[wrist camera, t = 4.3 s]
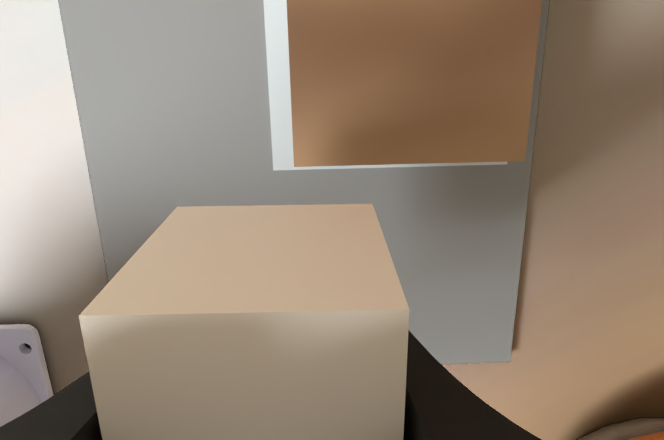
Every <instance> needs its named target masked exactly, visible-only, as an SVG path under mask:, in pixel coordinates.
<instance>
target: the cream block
mask: <svg viewBox="0 0 664 440" xmlns="http://www.w3.org/2000/svg"><path fill="white" fill-rule="evenodd" d="M79 321H80V326H81V331H82V337H83V342H84V347H85V352H86V357H87V363H88V368H89V373H90V378H91V383H92V388H93V394H94V399H95V404H96V409H97V414H98V420H99V425H100V430H101V435H102V440H403V436H404V415H405V394H406V373H407V351H408V330H409V307H408V304H407V301H406V298H405V295H404V292H403V289H402V287H401V284H400V281H399V278H398V275H397V272H396V269H395V267H394V264H393V261H392V258H391V255H390V252H389V249H388V247H387V244H386V241H385V238H384V235H383V232H382V229H381V226H380V224H379V221H378V218H377V215H376V212H375V209H374V206H373V204H316V205H249V206H182V207H176V208H175V210H174V211H173V212H172V213H171V214H170V215H169V216H168V217H167V218H166V220H165V221H164V222H163V223H162V224H161V225H160V226H159V227H158V228H157V230H156V231H155V232H154V233H153V234H152V235H151V236H150V237H149V238H148V239H147V241H146V242H145V243H144V244H143V245H142V246H141V247H140V248H139V249H138V251H137V252H136V253H135V254H134V255H133V256H132V257H131V258H130V259H129V261H128V262H127V263H126V264H125V265H124V266H123V267H122V268H121V269H120V270H119V272H118V273H117V274H116V275H115V276H114V277H113V278H112V279H111V280H110V282H109V283H108V284H107V285H106V286H105V287H104V288H103V289H102V290H101V291H100V293H99V294H98V295H97V296H96V297H95V298H94V299H93V300H92V301H91V303H90V304H89V305H88V306H87V307H86V308H85V309H84V310H83V311H82V313H81V314H80V315H79Z"/></svg>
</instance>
